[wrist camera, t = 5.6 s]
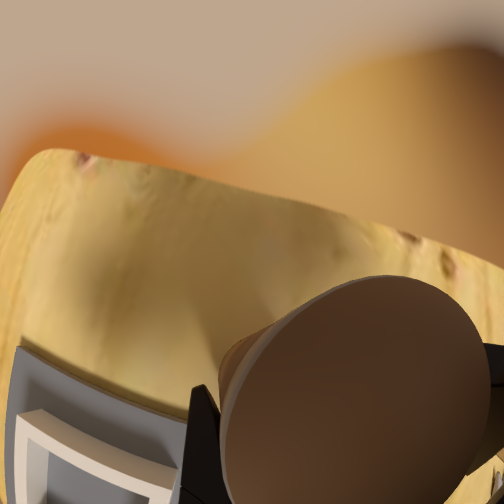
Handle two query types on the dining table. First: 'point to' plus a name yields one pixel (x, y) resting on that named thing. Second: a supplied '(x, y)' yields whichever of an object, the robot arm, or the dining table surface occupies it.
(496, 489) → the pliers
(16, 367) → the docking plate
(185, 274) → the dining table surface
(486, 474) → the dining table surface
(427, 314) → the brown upright cylinder
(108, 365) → the dining table surface
